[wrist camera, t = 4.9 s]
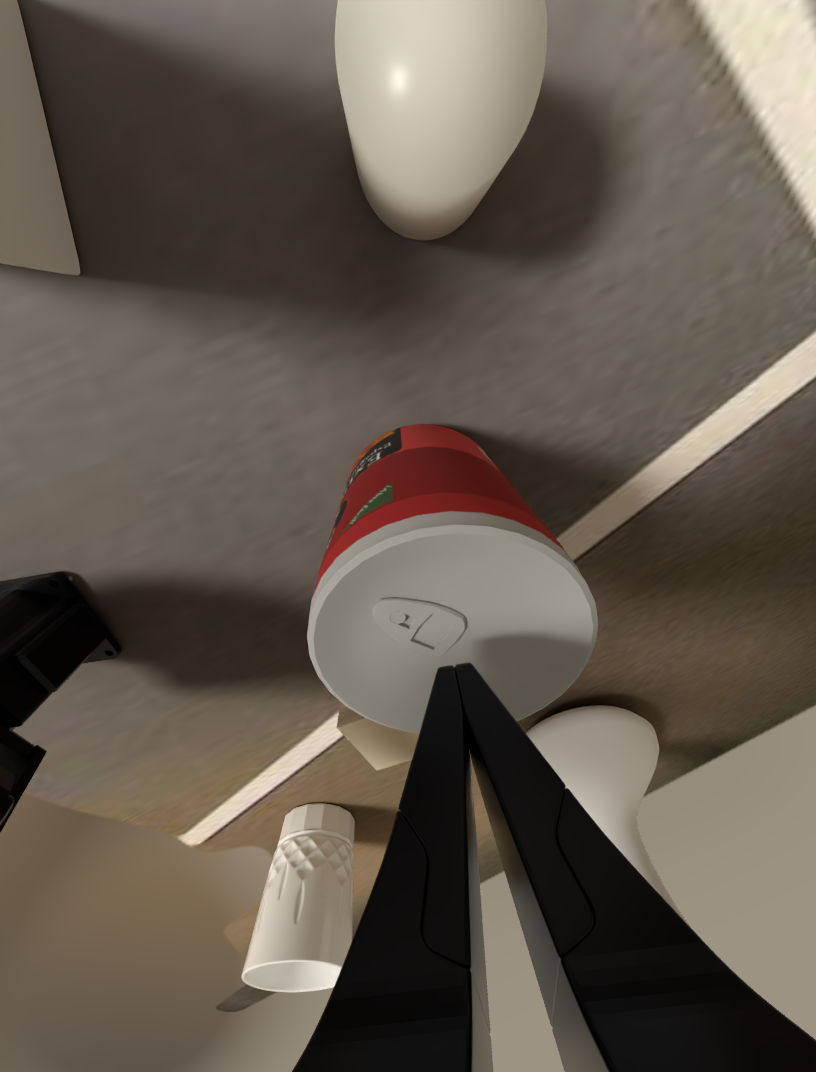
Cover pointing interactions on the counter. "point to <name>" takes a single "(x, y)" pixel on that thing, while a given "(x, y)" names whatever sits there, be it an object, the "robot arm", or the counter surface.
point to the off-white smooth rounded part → (436, 101)
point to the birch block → (376, 739)
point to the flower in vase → (606, 772)
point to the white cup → (305, 904)
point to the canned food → (443, 584)
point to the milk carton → (28, 163)
